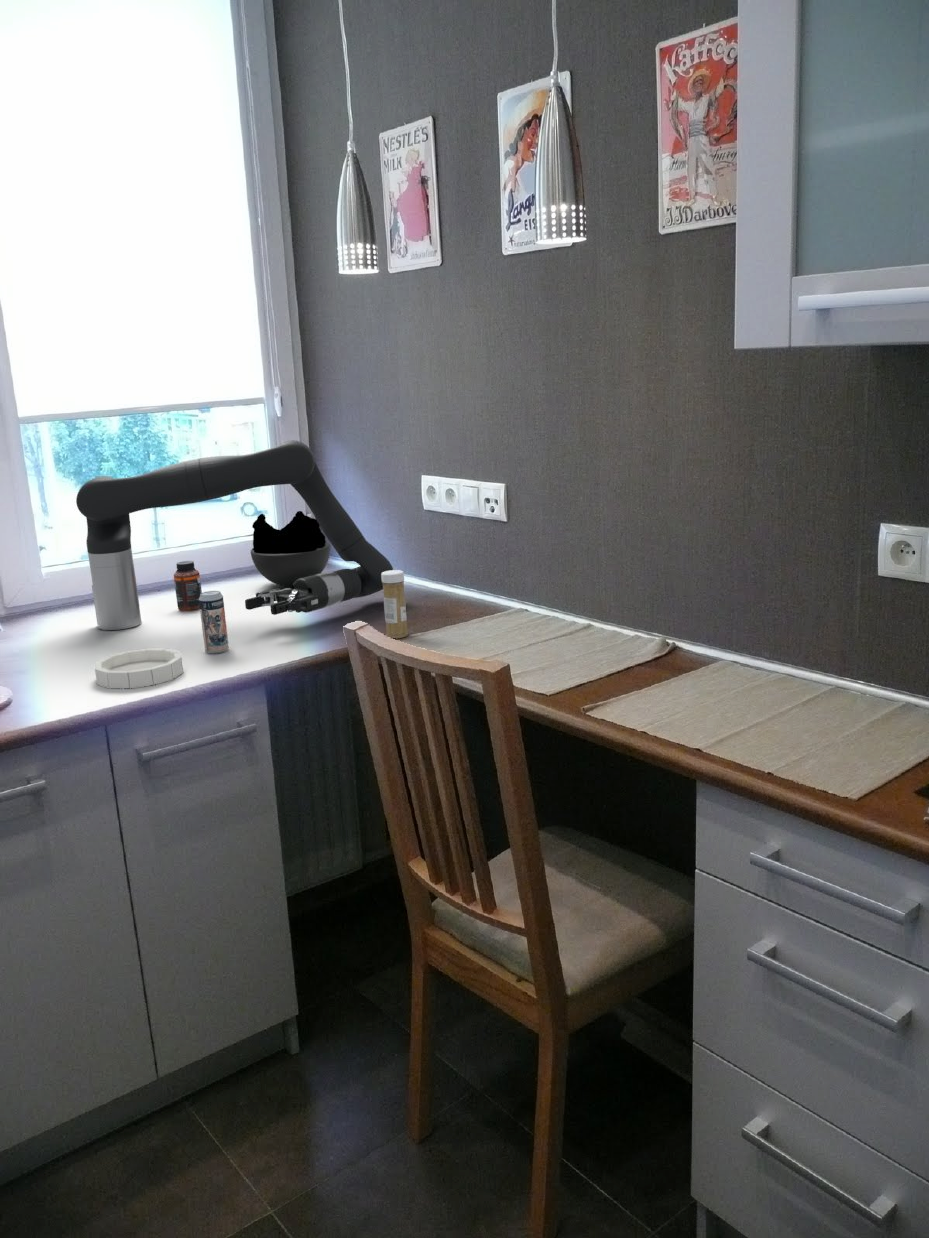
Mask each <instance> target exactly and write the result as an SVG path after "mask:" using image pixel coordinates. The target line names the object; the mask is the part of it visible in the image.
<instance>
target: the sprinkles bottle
mask: <svg viewBox="0 0 929 1238" xmlns="http://www.w3.org/2000/svg"><path fill="white" fill-rule="evenodd" d="M381 578H382V582H383V583H382V584H383V590H382V591H383V592H382V593H383V609H384V619H385V620H384V621H385V628H386V635H387V636H389V637H394V638H396V640H397V639H402V638H406V637H407V636H409V635H408V634H409V632H408V622H407V609H406V608H407V607H406V597H405V585H404V582H405V573H404V571H403V570H399V569H393V570H390V571H385V572H382V574H381ZM387 636H386V637H387Z"/></svg>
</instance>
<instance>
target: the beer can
mask: <svg viewBox="0 0 929 1238" xmlns="http://www.w3.org/2000/svg"><path fill="white" fill-rule="evenodd" d="M199 605H200V609H199V613H200V620H201V622H200V623H201V630H202V638H203V645H204V651H205V652H206V653H208V654H211V655H216V654H217V655H218V654H222V653H225V652H227V651H228V650H229V648H230V645H229V637H228V636H229V635H228V629H227V620H226V611H225V604H224V595H223V594H222V593H221V591H220V590H210V591H209V590H208V591H204V592H202V593H201V594H200V598H199Z"/></svg>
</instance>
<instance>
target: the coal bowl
mask: <svg viewBox="0 0 929 1238" xmlns="http://www.w3.org/2000/svg"><path fill="white" fill-rule="evenodd" d="M251 527H252V528H253V534H252V548H251V550H250V556H251V560H252V562H253V564H254V566H255V569H256V570H257V571H258V572H259V573H260V575H261V576H263V577H264V578H265V579H266V580H268V581H269V582H271V583H273V584H276V585H278V586H282V587H284V588H285V587H286V588H292V586H293V584H294V582H295V581H296V580H297V579H300V578H304V577H308V576H312V575H316V574H320V573H323V571H324V569H325V568H326V567H327V564H328V563H329V562H328V561H329V560H330V554H331V543H330V542H328V541H327V540H326V535H325V534H324V532H323V531H322V529H321V527H320V525H319V523H318V522H317V520H316V518H315V517H314V518H313V517H311V516H308V515H306V514H304V512H303V511H302V510H299V511H296V513H295V515H294V516H293V517H292V519H291V520H290V521H289V523H287V524H286V525H285V526H284V527H282V528H281V529H279V528H278V529H277V528H275V527H274V526H273V525H271V524H269V523H268V522H267V521H266V516H265V514H264V513H261V514H259V515H258V516H257V517H256V520H254V521H253V522H252V526H251Z"/></svg>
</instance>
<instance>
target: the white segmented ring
mask: <svg viewBox="0 0 929 1238" xmlns="http://www.w3.org/2000/svg"><path fill="white" fill-rule="evenodd" d="M94 672H95V679H96V685H97V686H101V687H103V688H107V689H111V688H120V690H121V688H122V689H123V690H125V689H124V688H130V689H131V688H132V689H137V688H144V686H146V687H151V686H150V685H153V686H156V685H160V684H163V683H165V681H166V682H169V681H173V680H175V679H176V678H178V677H179V676H180V674H181V675H182V674H184V667H183V658H182V655H181V651H178V650H174V649H171V648H143V649H142V648H141V649H134V650H127V651H123V652H119V653H115V654H112V655H108V656H105V657H104V658H102V659H100V660H98V661H96V662H94ZM174 678H175V679H174ZM155 684H156V685H155Z"/></svg>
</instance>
